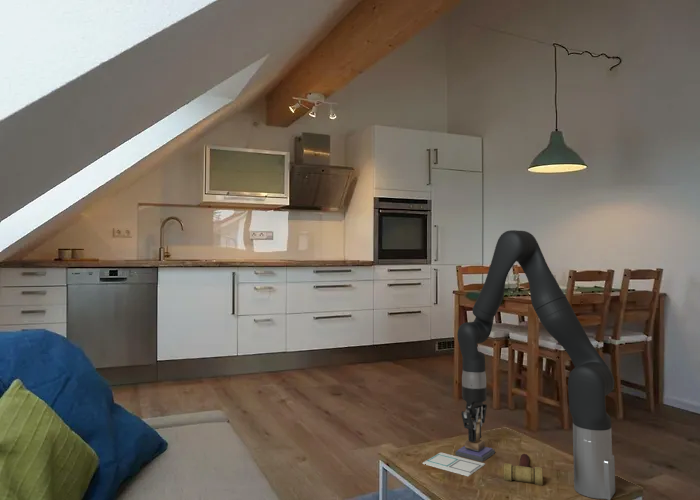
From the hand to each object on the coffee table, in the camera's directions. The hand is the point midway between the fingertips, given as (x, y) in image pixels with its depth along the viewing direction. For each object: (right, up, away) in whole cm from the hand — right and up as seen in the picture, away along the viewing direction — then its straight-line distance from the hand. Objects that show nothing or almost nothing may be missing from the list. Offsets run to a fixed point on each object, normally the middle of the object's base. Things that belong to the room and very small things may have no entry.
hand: (474, 439), depth 159 cm
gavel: (+11, -5, -13) cm, 18 cm away
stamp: (0, -3, 0) cm, 3 cm away
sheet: (-8, -4, -8) cm, 12 cm away
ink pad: (0, -5, 0) cm, 5 cm away
